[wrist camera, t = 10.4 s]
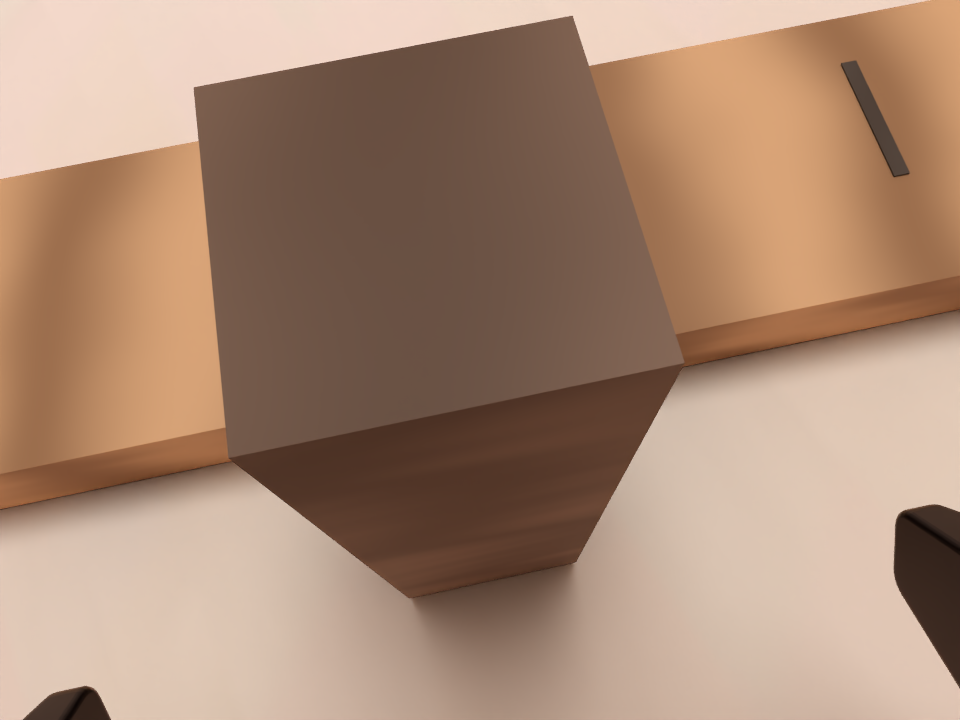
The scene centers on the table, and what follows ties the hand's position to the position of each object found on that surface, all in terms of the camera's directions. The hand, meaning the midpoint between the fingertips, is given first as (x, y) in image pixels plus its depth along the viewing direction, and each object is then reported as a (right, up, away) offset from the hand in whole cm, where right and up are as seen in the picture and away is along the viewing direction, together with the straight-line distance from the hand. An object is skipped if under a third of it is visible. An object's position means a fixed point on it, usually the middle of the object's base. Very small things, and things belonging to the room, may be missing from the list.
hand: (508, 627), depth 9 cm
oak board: (+4, +6, +14) cm, 16 cm away
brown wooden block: (-1, +3, +12) cm, 13 cm away
